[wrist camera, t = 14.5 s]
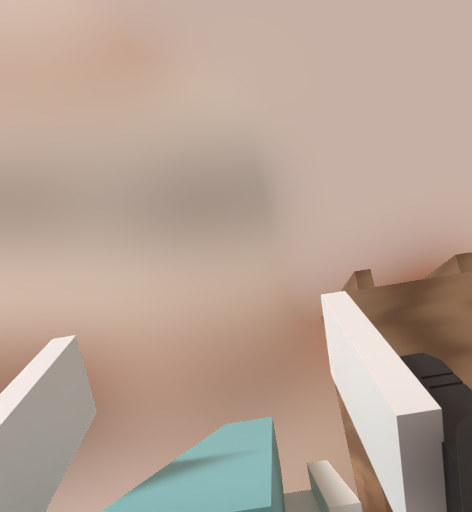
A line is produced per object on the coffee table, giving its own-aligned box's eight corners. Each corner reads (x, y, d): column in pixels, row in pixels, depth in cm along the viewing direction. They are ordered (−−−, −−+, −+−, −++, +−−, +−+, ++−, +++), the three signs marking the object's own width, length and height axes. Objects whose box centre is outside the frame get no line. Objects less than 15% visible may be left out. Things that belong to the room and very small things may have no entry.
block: (73, 809, 6) (64, 537, 7) (232, 475, 30) (225, 424, 31) (312, 778, 6) (271, 506, 7) (280, 467, 30) (272, 416, 31)
